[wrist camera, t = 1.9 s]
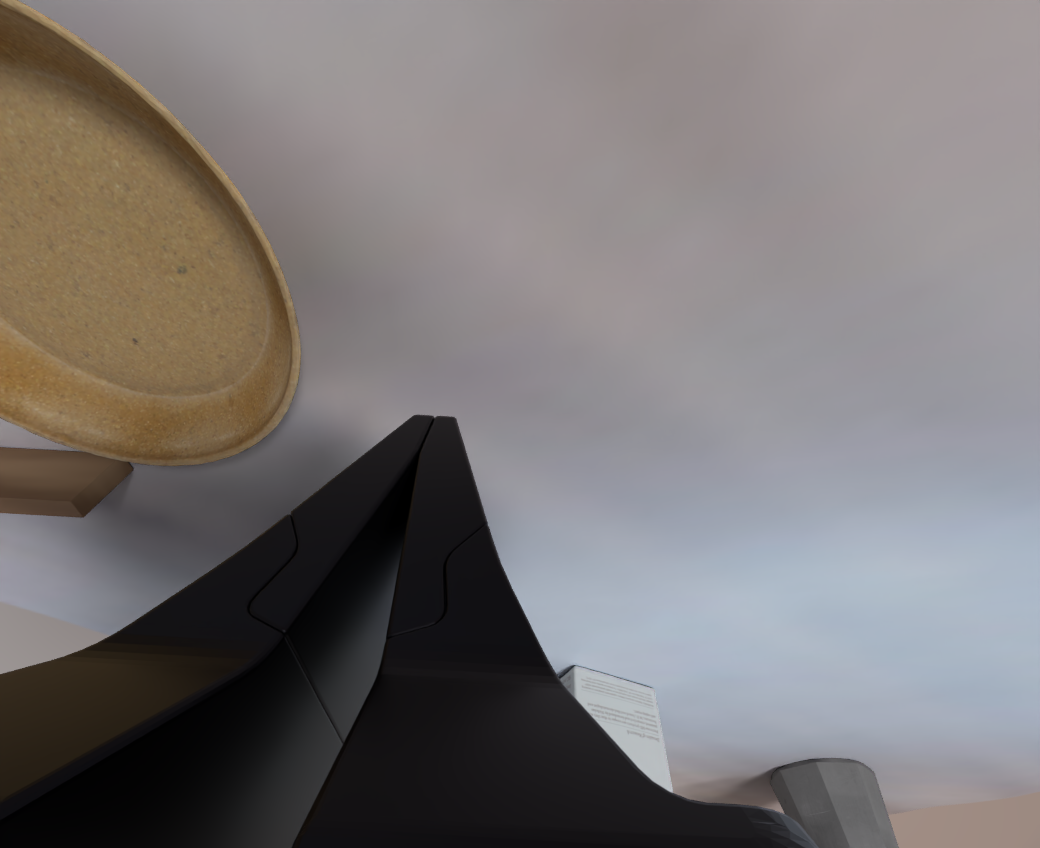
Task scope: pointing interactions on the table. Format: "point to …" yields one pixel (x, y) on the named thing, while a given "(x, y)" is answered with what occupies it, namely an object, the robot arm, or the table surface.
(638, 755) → the supplement box
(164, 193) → the plant saucer
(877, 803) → the coffeepot
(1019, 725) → the table surface
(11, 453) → the lane walls
